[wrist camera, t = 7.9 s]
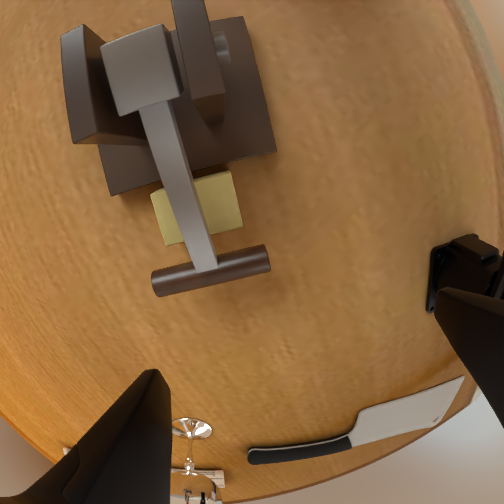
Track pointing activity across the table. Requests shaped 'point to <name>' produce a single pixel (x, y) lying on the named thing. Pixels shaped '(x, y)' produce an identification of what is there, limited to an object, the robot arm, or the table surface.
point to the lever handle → (172, 158)
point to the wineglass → (192, 468)
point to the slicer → (185, 106)
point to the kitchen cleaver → (371, 425)
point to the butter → (213, 205)
